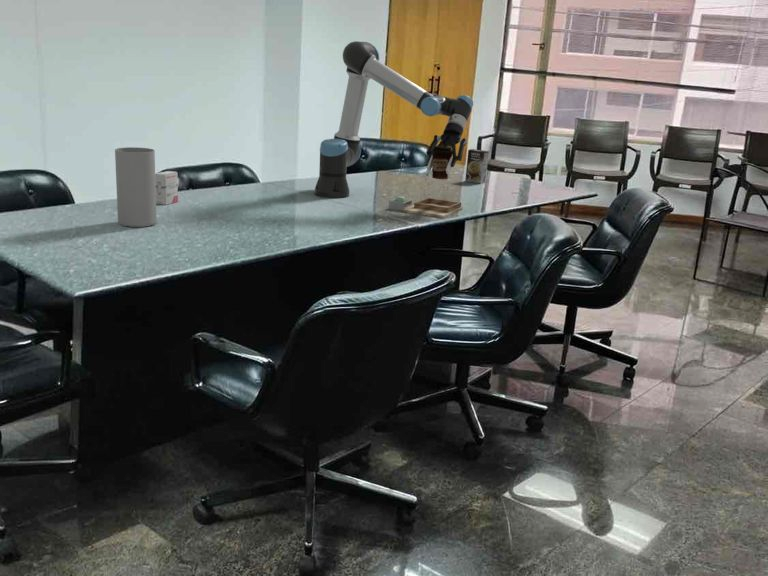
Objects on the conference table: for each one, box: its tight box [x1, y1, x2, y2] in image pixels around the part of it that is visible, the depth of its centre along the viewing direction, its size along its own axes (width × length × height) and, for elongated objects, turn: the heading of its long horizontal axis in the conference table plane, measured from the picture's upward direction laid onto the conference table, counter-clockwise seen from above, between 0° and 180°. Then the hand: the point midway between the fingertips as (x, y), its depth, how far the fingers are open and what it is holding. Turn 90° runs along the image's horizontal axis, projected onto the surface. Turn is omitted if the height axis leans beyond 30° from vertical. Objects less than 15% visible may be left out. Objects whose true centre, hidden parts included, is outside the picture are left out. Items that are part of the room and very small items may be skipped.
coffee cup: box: [431, 145, 453, 181], centre depth 311 cm, size 9×8×13 cm
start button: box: [395, 196, 406, 202], centre depth 313 cm, size 4×4×4 cm
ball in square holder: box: [388, 197, 413, 212], centre depth 313 cm, size 7×7×4 cm
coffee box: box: [464, 148, 490, 185], centre depth 390 cm, size 9×6×16 cm
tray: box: [401, 197, 463, 219], centre depth 314 cm, size 18×22×3 cm
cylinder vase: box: [114, 146, 158, 228], centre depth 258 cm, size 12×12×25 cm
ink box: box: [155, 170, 179, 206], centre depth 296 cm, size 9×5×12 cm, turn 160°
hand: (437, 171), depth 309 cm, fingers closed on coffee cup, 7 cm apart
